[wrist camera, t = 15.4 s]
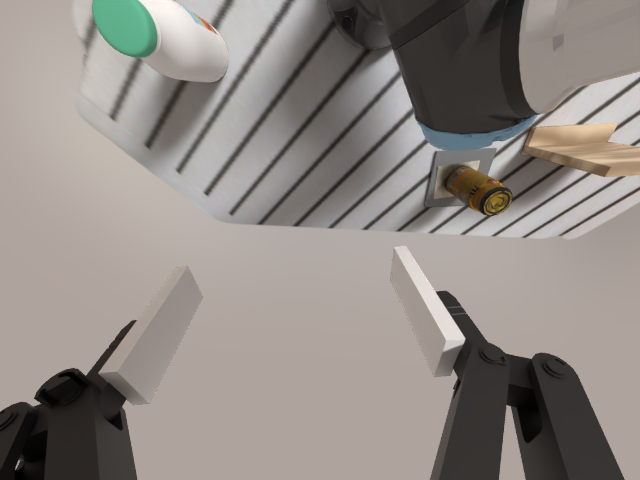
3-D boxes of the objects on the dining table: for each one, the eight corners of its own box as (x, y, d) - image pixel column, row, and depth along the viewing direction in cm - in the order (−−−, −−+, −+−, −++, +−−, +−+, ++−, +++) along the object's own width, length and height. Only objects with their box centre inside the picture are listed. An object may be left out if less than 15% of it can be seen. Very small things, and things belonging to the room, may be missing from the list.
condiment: (471, 193, 52) (511, 218, 42) (433, 198, 52) (463, 224, 42) (479, 159, 48) (525, 178, 38) (437, 165, 48) (472, 185, 38)
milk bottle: (239, 56, 38) (185, 28, 21) (210, 93, 40) (141, 96, 23) (197, 6, 34) (91, -75, 18) (168, 50, 37) (52, 16, 20)
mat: (435, 151, 47) (437, 151, 47) (494, 147, 47) (496, 148, 47) (424, 206, 54) (425, 207, 53) (475, 203, 54) (477, 204, 53)
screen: (531, 127, 46) (626, 142, 32) (612, 123, 46) (739, 136, 32) (520, 154, 48) (603, 178, 35) (597, 149, 48) (708, 172, 35)
